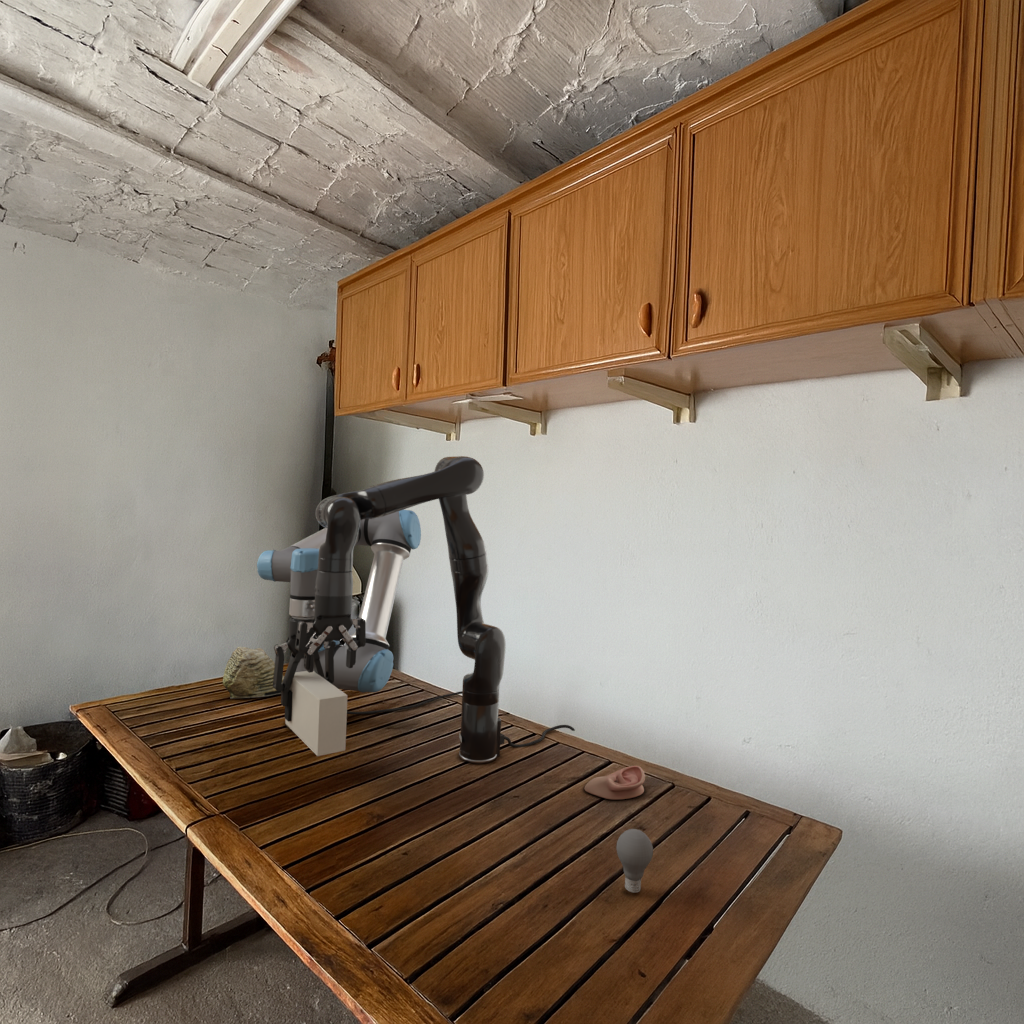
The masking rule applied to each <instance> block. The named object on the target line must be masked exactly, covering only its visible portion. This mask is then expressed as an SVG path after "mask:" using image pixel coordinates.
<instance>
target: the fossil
mask: <svg viewBox="0 0 1024 1024" xmlns="http://www.w3.org/2000/svg"><path fill="white" fill-rule="evenodd" d="M274 668H275V660H273V659H272V658H271V657H270V656H269V655H268V654H267V653H266V652H265V650H264V649H263V648H260V647H258V648H251V647H247V646H246V647H245V646H238V647H237V648H236V649H235V650H233V651H232V653H231V656H230V657H229V659H228V660H227V663H226V666H225V668H224V671H223V675H222V676H223V677H222V685H223V687H224V688H225V690H226V691H228V693H229V698H230V699H250V698H264V697H271V696H275V695H281V691H277V690H276V689H275V688H274V687H273V678H274ZM284 676H285V675H283V677H282V682H283V679H284Z"/></svg>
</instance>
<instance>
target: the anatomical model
mask: <svg viewBox="0 0 1024 1024" xmlns="http://www.w3.org/2000/svg"><path fill="white" fill-rule="evenodd" d="M645 781H646V775H645V772H644V769H643V768H642V767H641V766H639V765H630V766H627V767H623V768H620V769H618V770H615V771H614V772H612V773H610V774H607V775H603V776H596V777H594V778H591V779H590V780H588V782H587V783H586V784H585V785H584V791H585V792H586V793H589V794H591V795H594V796H596V797H599V798H603V799H606V800H625V799H626V800H627V799H632V798H636V797H639V796H641V795H642V794H644V792H645V788H644V786H643V785H644V783H645Z"/></svg>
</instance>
